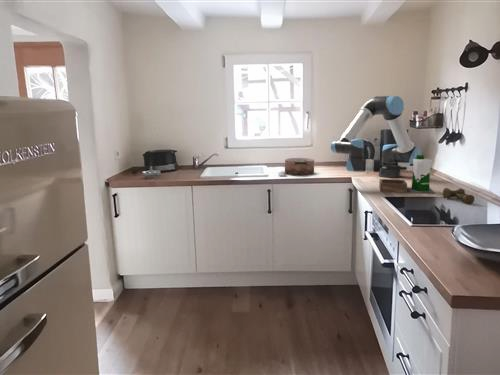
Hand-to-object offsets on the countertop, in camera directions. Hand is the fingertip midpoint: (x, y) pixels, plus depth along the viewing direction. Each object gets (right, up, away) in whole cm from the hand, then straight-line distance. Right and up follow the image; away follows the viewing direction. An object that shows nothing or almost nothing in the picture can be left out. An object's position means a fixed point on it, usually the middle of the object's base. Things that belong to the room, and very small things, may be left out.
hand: (411, 166), depth 225 cm
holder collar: (-9, -13, +5) cm, 17 cm away
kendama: (+15, -19, -22) cm, 33 cm away
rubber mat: (+6, -14, +1) cm, 15 cm away
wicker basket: (-56, -1, +72) cm, 91 cm away
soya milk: (+6, -14, +1) cm, 15 cm away
